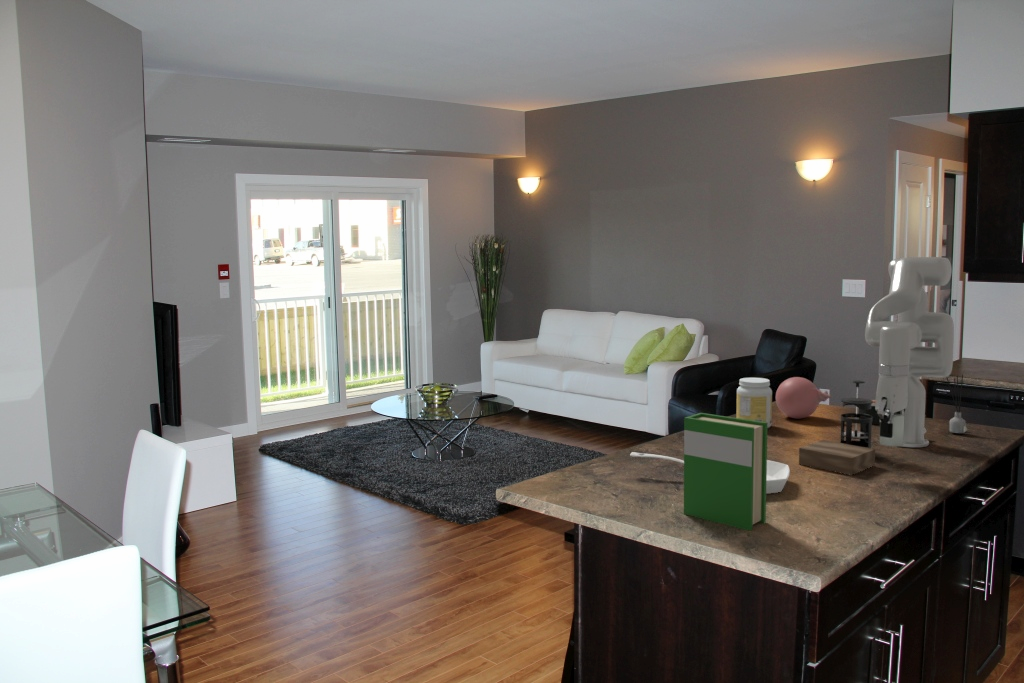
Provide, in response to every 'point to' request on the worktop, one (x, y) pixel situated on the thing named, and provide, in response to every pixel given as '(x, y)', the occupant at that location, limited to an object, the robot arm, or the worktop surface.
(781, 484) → the pan
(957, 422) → the reed diffuser
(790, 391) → the balloon
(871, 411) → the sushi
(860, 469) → the brown wooden block
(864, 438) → the french press
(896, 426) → the white rounded capsule
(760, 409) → the supplement tub
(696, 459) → the hardback book
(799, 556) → the worktop surface
